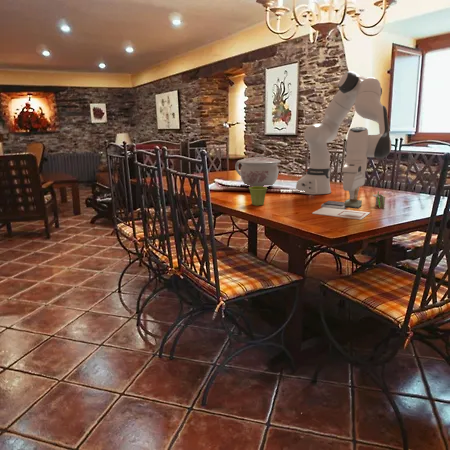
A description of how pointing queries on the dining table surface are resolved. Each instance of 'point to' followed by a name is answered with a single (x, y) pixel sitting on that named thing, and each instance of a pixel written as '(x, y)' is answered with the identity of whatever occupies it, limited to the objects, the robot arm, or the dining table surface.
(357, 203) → the stamp
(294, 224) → the dining table surface
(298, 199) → the dining table surface
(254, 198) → the plant pot
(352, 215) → the paper sheet
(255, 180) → the chamber pot
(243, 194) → the dining table surface
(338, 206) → the ink pad
